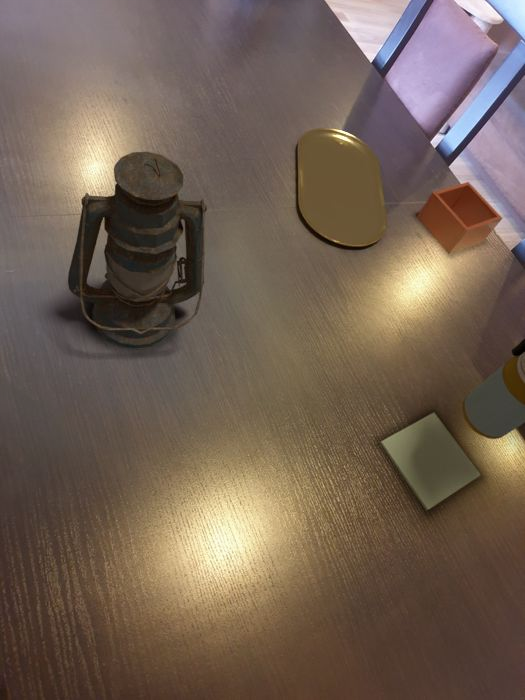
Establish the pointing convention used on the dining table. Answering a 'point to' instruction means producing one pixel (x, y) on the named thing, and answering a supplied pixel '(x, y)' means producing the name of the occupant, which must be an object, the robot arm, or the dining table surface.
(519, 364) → the bottle
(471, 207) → the box
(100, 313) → the lantern
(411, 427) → the mat
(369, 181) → the serving platter
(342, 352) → the dining table surface
